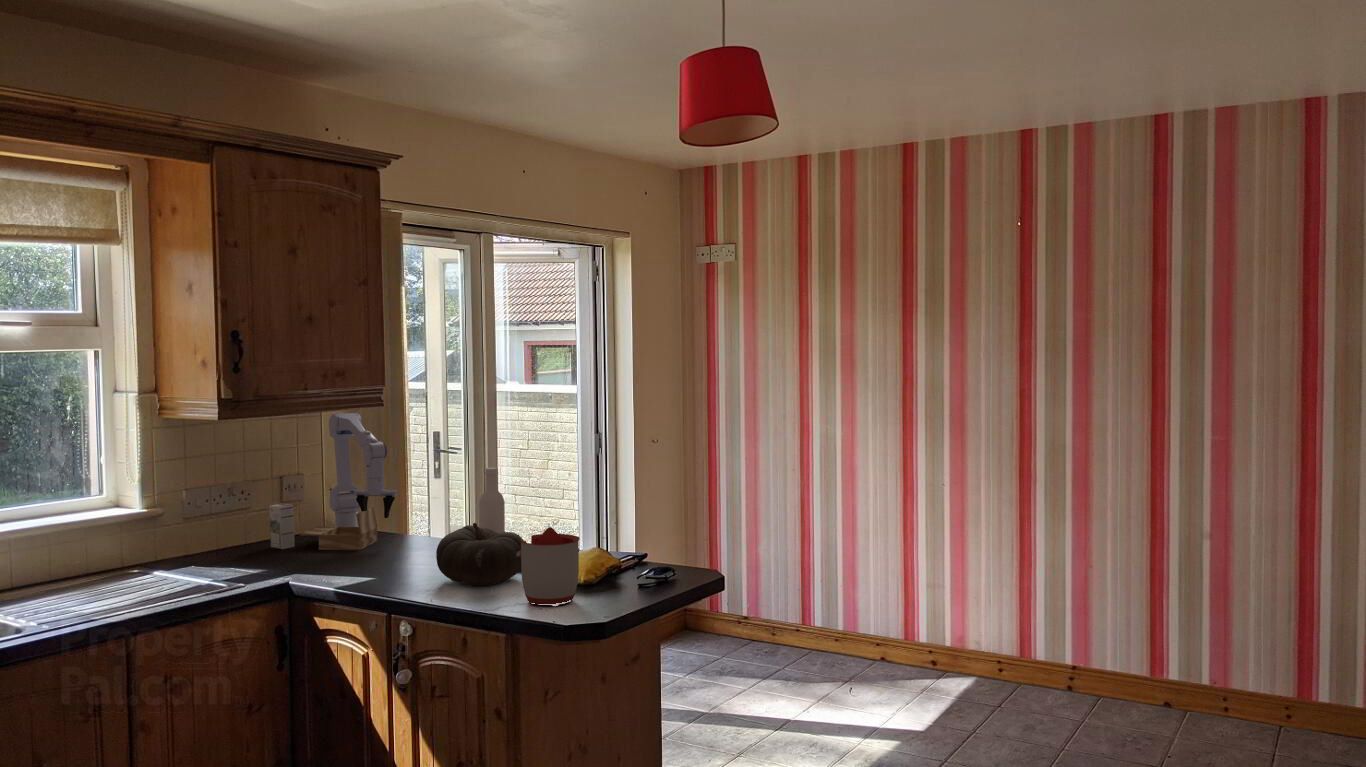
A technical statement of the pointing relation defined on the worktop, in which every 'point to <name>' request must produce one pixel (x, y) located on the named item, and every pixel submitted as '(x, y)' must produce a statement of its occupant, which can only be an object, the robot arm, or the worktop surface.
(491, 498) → the bottle
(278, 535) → the syrup box
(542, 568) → the citrus juicer
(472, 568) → the gourd
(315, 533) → the carton
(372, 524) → the carton flap
